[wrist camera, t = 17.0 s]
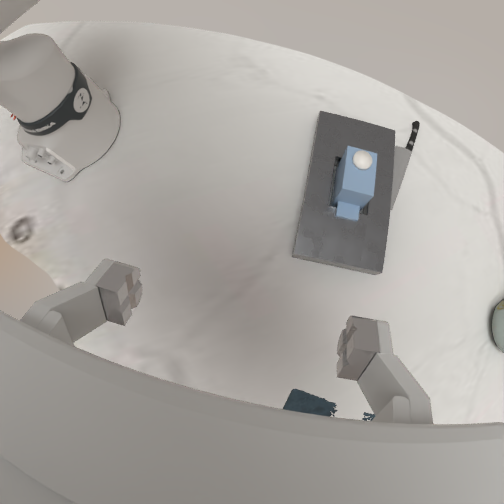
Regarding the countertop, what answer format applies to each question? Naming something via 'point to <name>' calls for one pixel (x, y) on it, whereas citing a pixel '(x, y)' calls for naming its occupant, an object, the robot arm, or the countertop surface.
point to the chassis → (323, 216)
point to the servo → (354, 182)
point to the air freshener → (499, 325)
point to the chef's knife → (402, 162)
